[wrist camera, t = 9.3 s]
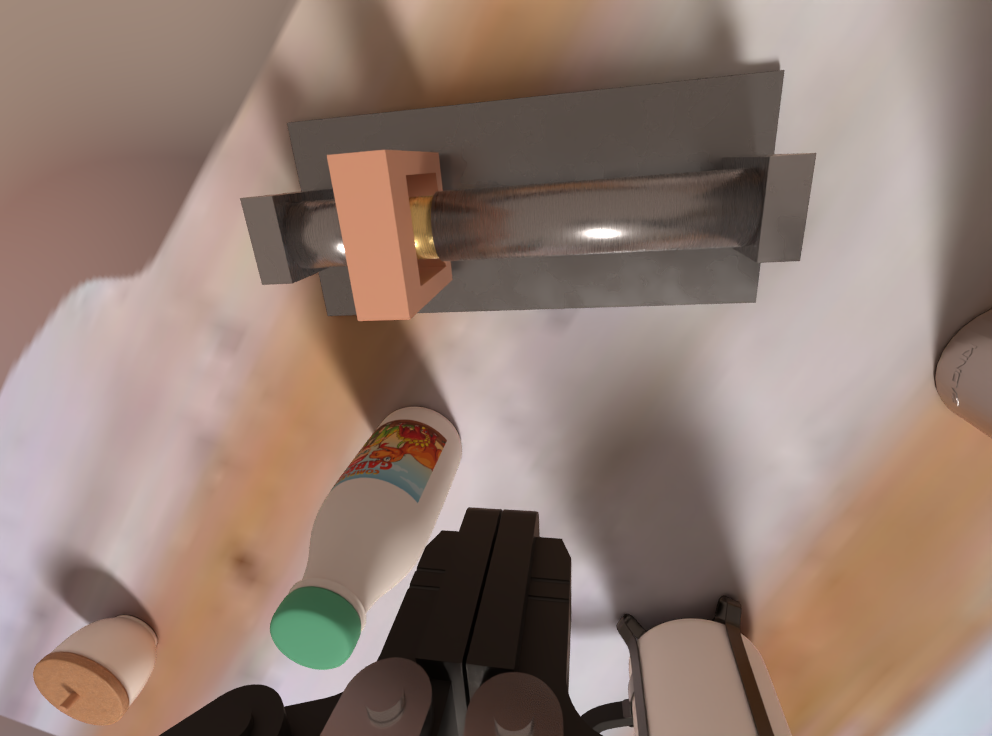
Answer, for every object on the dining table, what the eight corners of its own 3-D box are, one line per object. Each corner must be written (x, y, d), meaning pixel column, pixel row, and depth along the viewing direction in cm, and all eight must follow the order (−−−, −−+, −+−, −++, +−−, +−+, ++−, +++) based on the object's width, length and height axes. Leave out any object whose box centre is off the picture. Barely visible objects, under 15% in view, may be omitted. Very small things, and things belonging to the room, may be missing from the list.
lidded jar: (188, 663, 62) (126, 743, 54) (120, 662, 65) (49, 739, 56) (151, 599, 58) (77, 674, 50) (79, 601, 61) (-2, 673, 52)
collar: (438, 152, 32) (385, 149, 24) (452, 279, 36) (409, 319, 27) (394, 156, 33) (326, 155, 24) (412, 281, 36) (357, 321, 27)
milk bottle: (481, 444, 43) (408, 653, 25) (428, 493, 46) (327, 712, 28) (413, 386, 42) (284, 561, 24) (363, 440, 45) (214, 632, 27)
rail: (780, 71, 30) (859, 36, 21) (752, 300, 35) (807, 344, 26) (291, 123, 35) (201, 111, 27) (331, 313, 40) (265, 354, 32)
